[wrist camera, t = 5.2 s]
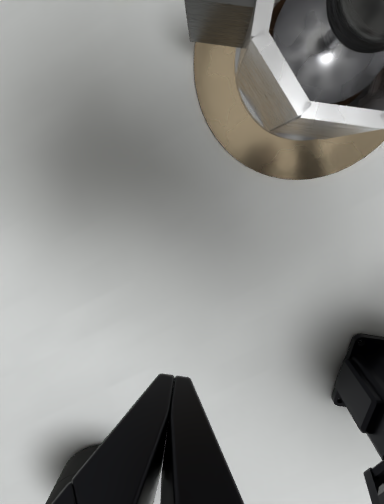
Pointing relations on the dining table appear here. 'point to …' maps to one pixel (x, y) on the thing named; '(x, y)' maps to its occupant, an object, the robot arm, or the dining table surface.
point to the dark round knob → (332, 45)
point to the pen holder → (71, 471)
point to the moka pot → (273, 96)
